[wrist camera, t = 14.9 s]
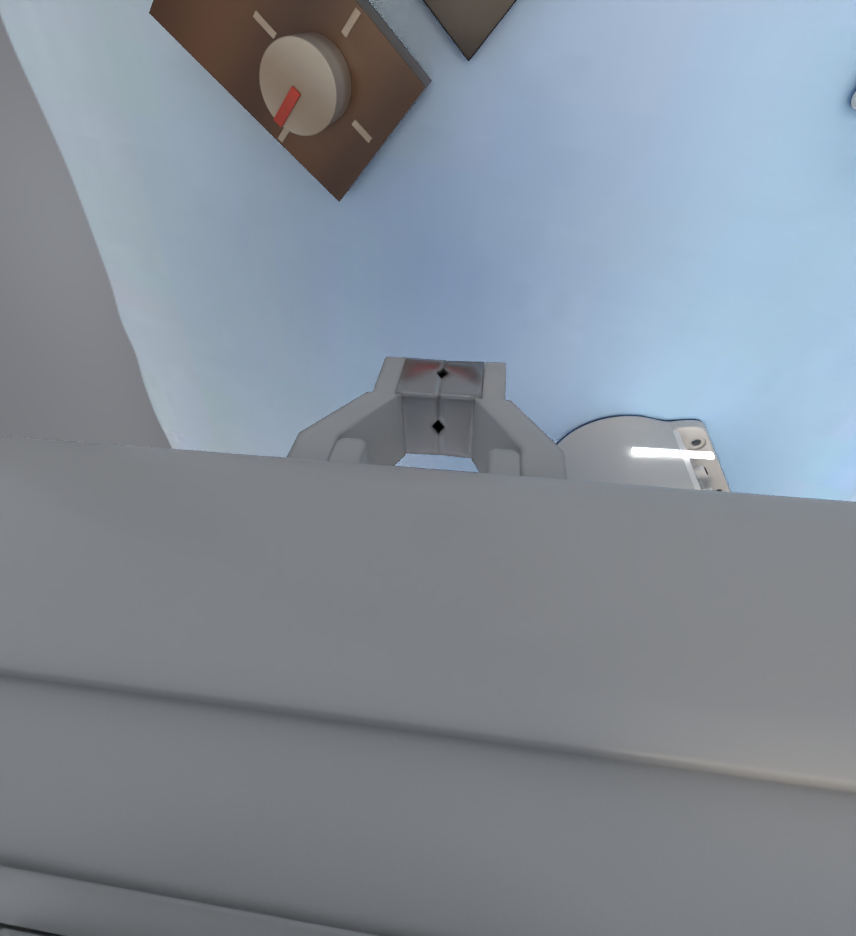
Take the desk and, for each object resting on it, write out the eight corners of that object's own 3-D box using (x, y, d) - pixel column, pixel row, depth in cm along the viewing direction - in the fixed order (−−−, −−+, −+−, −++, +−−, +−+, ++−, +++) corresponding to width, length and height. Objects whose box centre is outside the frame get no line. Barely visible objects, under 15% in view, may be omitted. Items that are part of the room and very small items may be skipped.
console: (431, 80, 31) (425, 87, 29) (349, 189, 36) (338, 202, 34) (240, -161, 25) (212, -176, 23) (174, 11, 30) (147, 13, 28)
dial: (305, 10, 27) (281, 12, 24) (366, 79, 29) (350, 88, 26) (267, 82, 29) (243, 91, 27) (325, 141, 31) (308, 155, 29)
